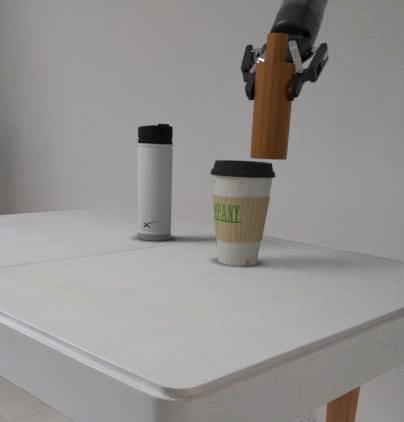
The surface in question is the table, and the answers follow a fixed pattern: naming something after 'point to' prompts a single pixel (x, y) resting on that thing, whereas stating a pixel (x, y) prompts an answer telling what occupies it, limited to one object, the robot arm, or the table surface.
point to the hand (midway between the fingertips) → (269, 96)
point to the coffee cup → (240, 208)
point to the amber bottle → (272, 101)
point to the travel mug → (155, 182)
